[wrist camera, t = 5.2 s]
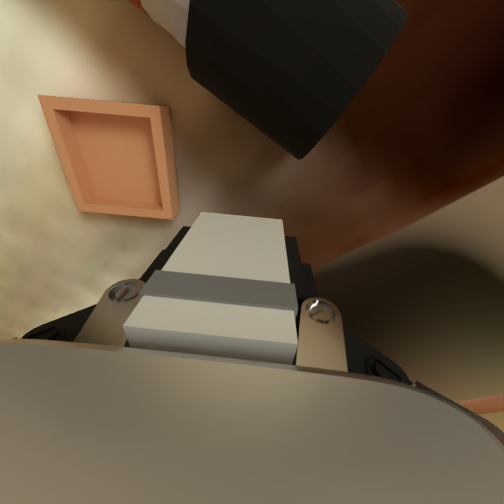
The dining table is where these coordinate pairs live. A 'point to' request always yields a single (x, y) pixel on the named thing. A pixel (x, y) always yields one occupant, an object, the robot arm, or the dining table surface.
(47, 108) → the dish
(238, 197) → the dining table surface
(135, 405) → the robot arm
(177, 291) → the block
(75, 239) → the dining table surface
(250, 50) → the striped tapered cylinder
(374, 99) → the dining table surface
